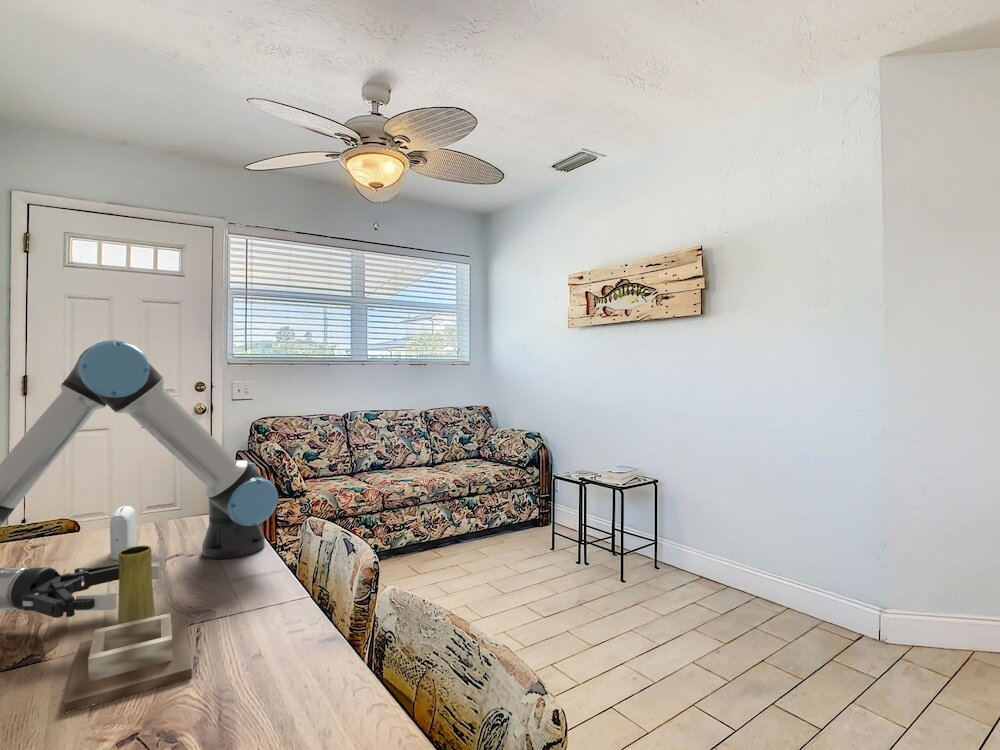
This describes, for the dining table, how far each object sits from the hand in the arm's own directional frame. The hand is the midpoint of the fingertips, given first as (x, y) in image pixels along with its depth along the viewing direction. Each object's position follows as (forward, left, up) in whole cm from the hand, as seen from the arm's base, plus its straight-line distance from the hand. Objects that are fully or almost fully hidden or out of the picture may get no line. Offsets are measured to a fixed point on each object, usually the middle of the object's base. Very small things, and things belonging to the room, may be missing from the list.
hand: (139, 585), depth 104 cm
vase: (+1, -1, -8) cm, 8 cm away
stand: (+1, +16, -7) cm, 18 cm away
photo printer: (+5, -49, -8) cm, 49 cm away
